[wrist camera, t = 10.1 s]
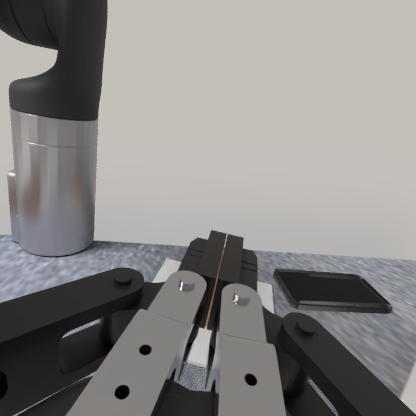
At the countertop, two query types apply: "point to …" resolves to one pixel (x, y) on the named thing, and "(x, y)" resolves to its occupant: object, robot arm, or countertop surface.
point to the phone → (330, 292)
